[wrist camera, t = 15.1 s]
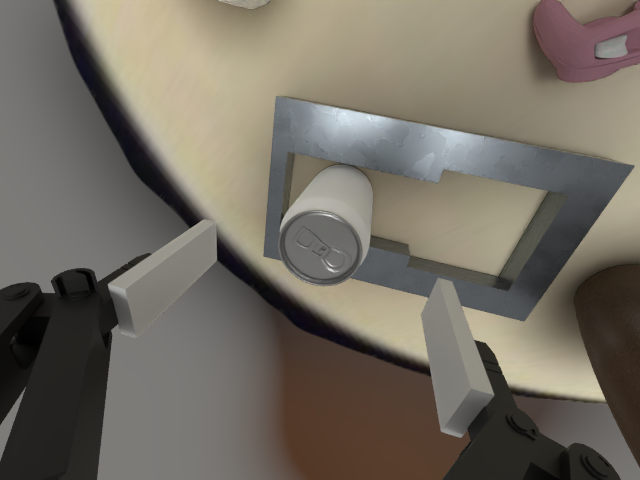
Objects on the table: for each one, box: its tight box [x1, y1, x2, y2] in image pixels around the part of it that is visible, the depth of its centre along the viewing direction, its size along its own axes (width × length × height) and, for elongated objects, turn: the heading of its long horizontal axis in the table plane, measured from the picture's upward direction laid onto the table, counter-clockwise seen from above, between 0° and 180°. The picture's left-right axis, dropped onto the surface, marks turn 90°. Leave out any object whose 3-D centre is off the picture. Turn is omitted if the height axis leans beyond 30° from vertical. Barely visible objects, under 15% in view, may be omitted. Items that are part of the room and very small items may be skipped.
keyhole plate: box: [264, 96, 634, 321], centre depth 27 cm, size 28×16×2 cm, turn 80°
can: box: [278, 164, 373, 286], centre depth 23 cm, size 6×6×12 cm
